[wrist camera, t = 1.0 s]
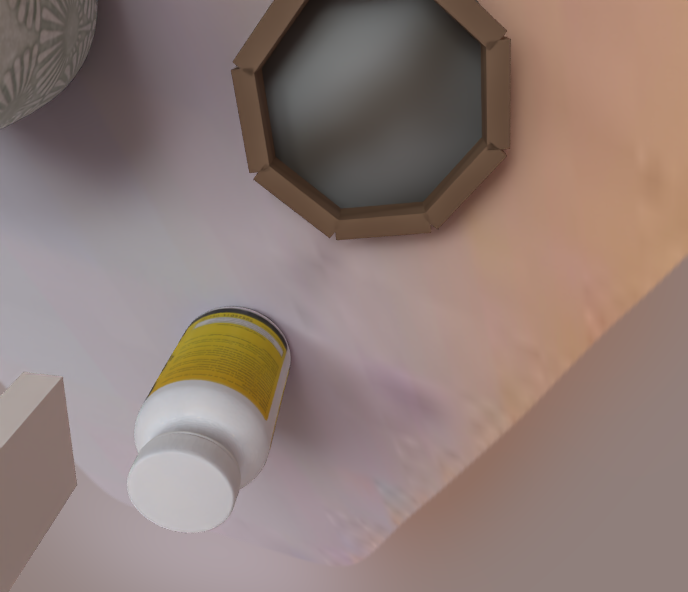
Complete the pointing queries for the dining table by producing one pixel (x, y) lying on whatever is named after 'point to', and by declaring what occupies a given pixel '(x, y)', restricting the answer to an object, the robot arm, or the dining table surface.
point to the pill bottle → (209, 420)
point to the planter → (41, 51)
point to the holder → (374, 110)
